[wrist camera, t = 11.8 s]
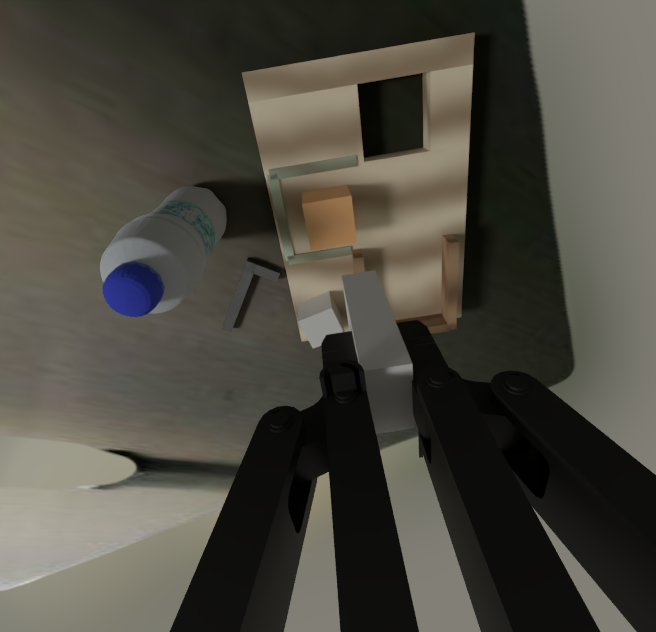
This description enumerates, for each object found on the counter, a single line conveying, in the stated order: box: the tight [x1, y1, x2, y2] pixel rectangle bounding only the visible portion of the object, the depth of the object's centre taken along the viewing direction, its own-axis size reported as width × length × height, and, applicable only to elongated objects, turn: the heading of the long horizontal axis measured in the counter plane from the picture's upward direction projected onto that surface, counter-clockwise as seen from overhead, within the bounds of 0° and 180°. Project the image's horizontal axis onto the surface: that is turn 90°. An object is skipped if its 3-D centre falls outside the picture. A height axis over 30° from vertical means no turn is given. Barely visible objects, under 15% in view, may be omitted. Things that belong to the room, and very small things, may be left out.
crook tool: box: [222, 258, 281, 332], centre depth 46 cm, size 10×4×1 cm, turn 156°
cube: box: [302, 185, 357, 251], centre depth 37 cm, size 4×4×4 cm
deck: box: [242, 33, 475, 341], centre depth 40 cm, size 28×20×3 cm
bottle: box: [100, 186, 227, 317], centre depth 32 cm, size 7×7×20 cm
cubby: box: [351, 234, 460, 334], centre depth 43 cm, size 11×11×2 cm
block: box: [298, 291, 345, 348], centre depth 43 cm, size 4×4×4 cm
